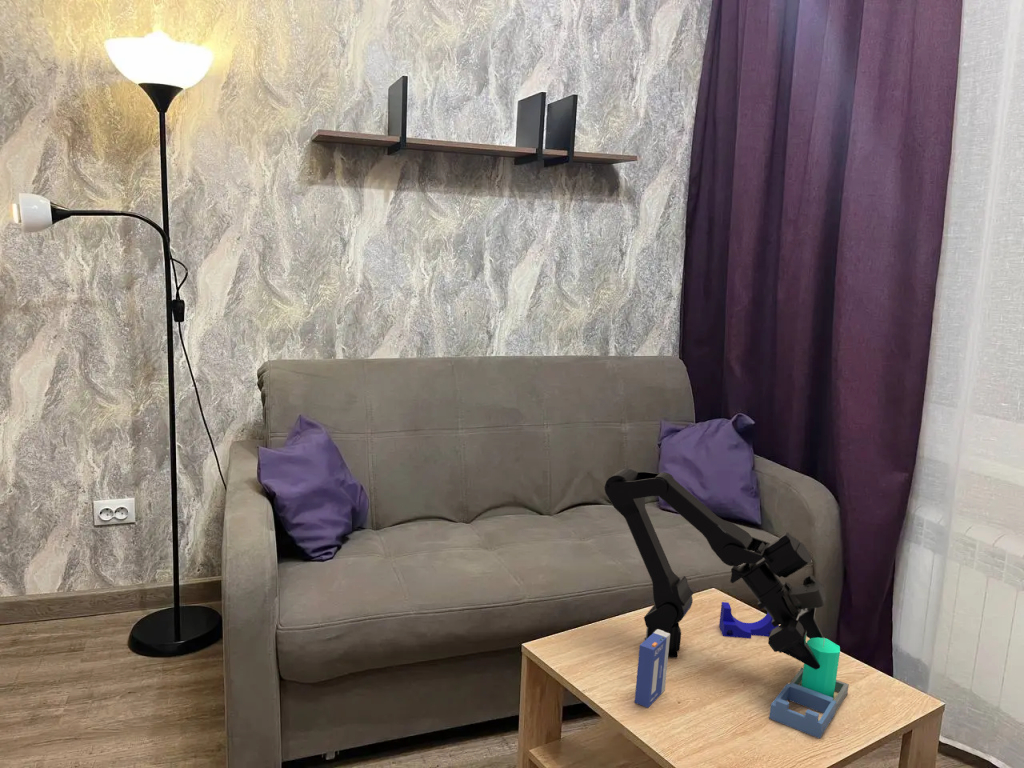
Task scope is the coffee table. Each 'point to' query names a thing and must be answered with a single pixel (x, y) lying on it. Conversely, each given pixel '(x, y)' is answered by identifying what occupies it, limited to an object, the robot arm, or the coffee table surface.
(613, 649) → the coffee table surface
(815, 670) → the candle
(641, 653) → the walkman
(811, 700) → the frame
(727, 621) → the cable clip
